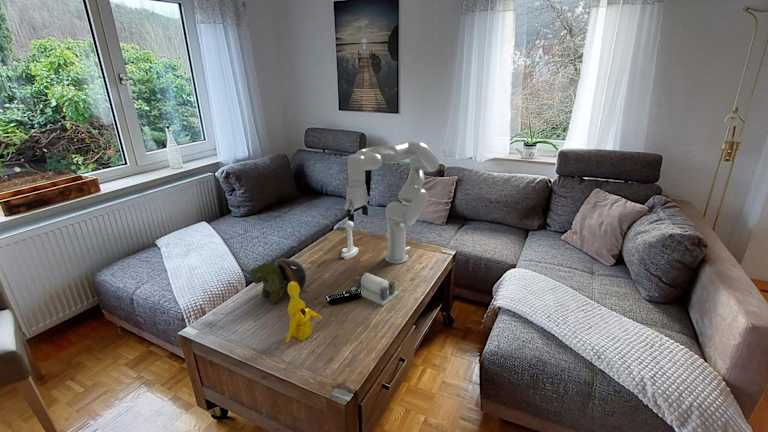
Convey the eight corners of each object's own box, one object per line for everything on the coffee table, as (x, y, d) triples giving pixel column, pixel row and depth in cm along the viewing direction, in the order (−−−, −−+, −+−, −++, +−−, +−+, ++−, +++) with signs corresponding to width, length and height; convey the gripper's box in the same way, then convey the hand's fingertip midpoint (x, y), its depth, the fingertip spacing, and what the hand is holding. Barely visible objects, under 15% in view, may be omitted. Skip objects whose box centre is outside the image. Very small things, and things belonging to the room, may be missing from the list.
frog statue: (307, 303, 169) (256, 313, 151) (289, 288, 179) (239, 296, 161) (315, 265, 166) (265, 270, 147) (296, 252, 176) (246, 255, 157)
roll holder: (366, 281, 177) (366, 269, 175) (398, 294, 166) (398, 282, 164) (351, 291, 169) (350, 278, 167) (383, 306, 158) (383, 293, 156)
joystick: (347, 259, 198) (345, 225, 191) (336, 256, 202) (334, 222, 195) (360, 252, 206) (359, 218, 199) (349, 248, 210) (348, 216, 203)
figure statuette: (291, 351, 133) (284, 299, 125) (276, 343, 137) (269, 292, 129) (325, 325, 146) (322, 277, 138) (311, 318, 150) (307, 271, 143)
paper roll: (367, 281, 174) (366, 269, 171) (392, 291, 165) (392, 279, 163) (357, 287, 169) (356, 275, 167) (383, 299, 161) (382, 286, 158)
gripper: (363, 177, 174) (364, 211, 180) (337, 185, 162) (339, 221, 168) (375, 179, 170) (376, 214, 176) (349, 188, 157) (351, 225, 163)
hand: (358, 218), depth 172 cm, fingers open, 9 cm apart
